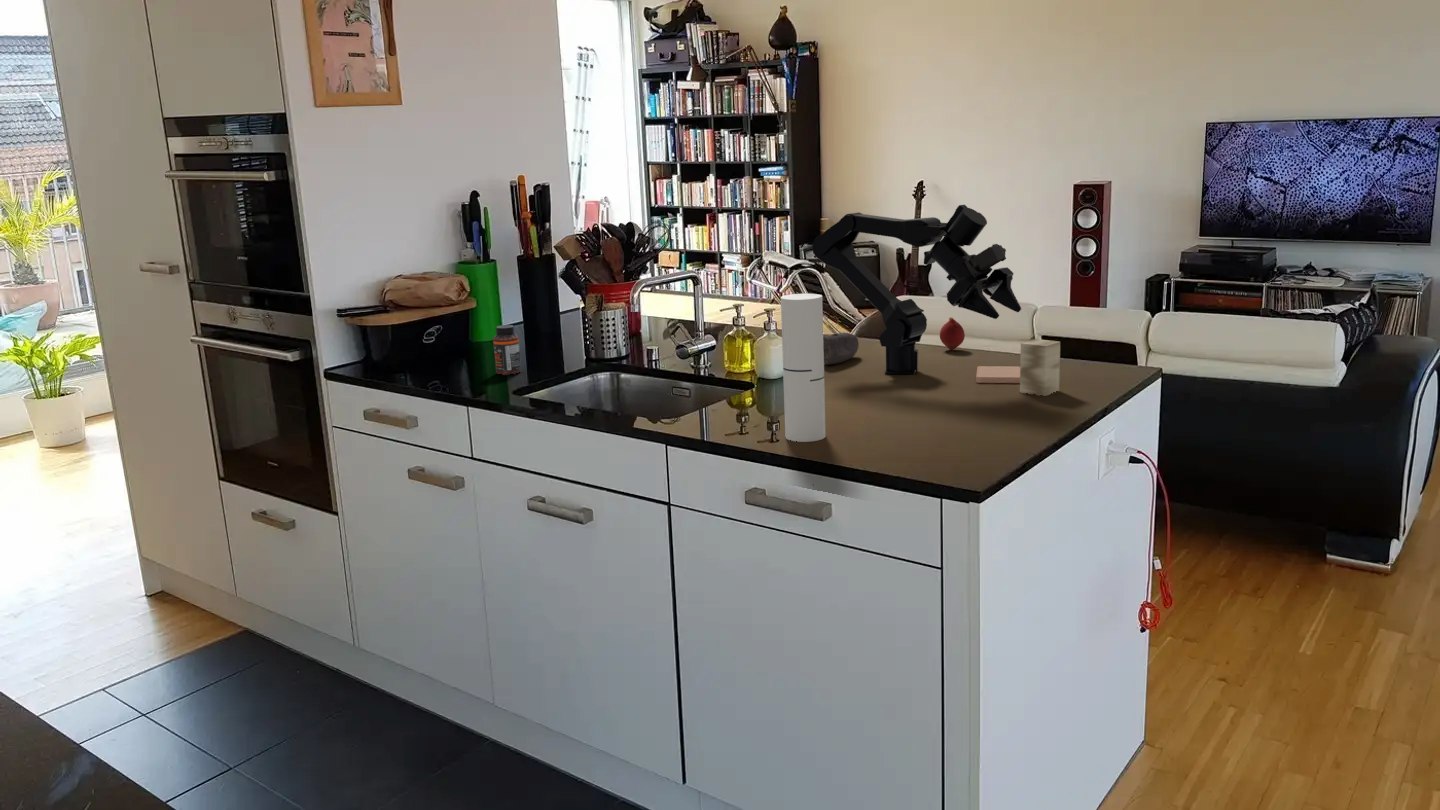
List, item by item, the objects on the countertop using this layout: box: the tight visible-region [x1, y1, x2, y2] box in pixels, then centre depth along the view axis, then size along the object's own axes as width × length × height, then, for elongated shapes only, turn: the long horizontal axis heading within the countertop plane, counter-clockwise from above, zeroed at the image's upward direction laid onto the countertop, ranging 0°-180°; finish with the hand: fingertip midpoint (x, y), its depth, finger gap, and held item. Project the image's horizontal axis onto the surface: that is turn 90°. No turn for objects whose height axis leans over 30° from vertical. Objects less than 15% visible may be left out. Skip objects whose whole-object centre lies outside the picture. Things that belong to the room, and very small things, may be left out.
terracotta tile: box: [975, 365, 1020, 384], centre depth 238 cm, size 11×11×1 cm
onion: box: [939, 316, 966, 351], centre depth 268 cm, size 6×6×8 cm
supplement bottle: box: [492, 324, 522, 376], centre depth 266 cm, size 6×6×11 cm
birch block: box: [1019, 338, 1061, 397], centre depth 223 cm, size 6×6×10 cm
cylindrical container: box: [780, 293, 826, 443], centre depth 196 cm, size 7×7×25 cm
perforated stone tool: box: [823, 332, 860, 365], centre depth 261 cm, size 15×5×7 cm, turn 140°
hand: (1008, 313), depth 228 cm, fingers open, 9 cm apart
